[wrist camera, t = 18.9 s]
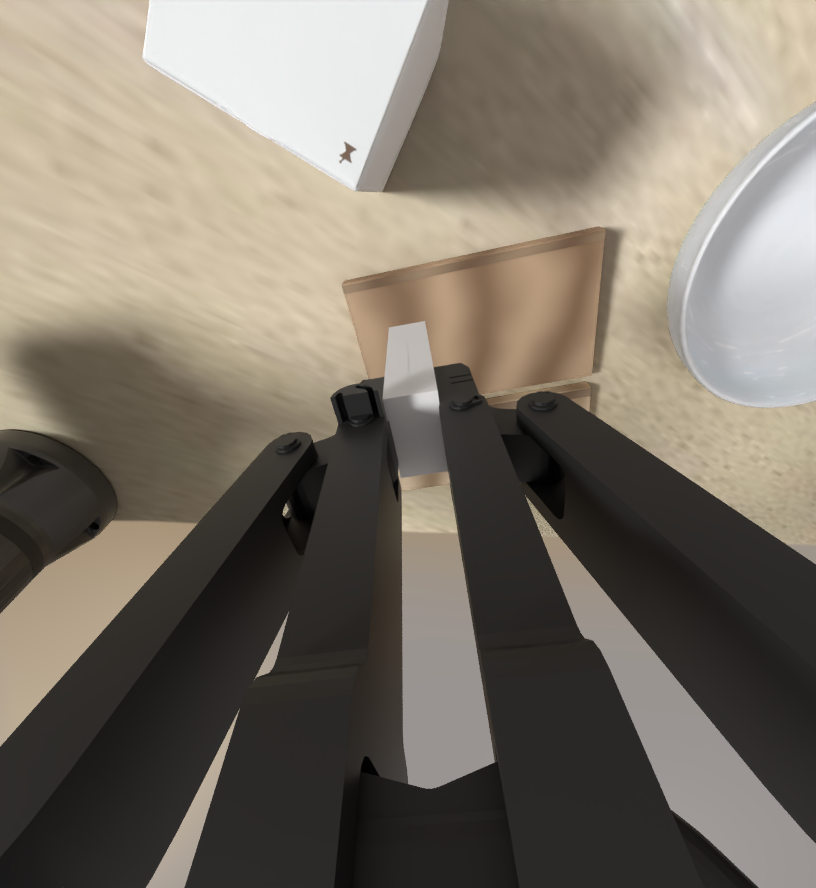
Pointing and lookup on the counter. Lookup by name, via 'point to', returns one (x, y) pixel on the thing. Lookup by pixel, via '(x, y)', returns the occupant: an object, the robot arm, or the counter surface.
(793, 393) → the serving bowl
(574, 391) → the laid plank
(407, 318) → the plank
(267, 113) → the supplement box
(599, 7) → the counter surface
